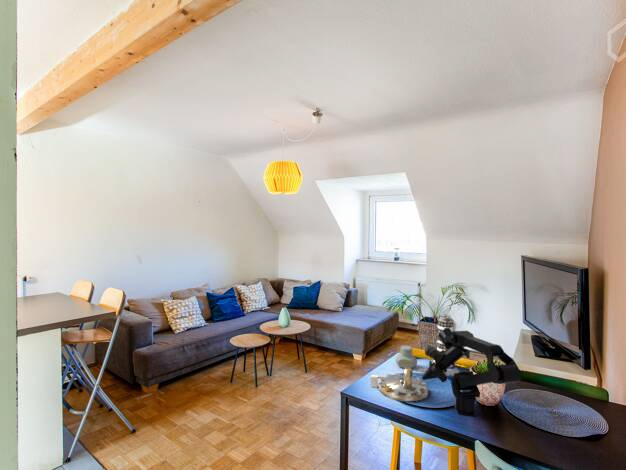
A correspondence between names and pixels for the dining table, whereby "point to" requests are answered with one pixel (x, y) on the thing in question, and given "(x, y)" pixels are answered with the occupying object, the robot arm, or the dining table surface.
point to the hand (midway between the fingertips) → (422, 378)
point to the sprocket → (403, 383)
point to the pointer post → (374, 380)
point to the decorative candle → (442, 324)
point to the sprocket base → (402, 395)
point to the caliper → (449, 371)
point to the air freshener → (406, 358)
